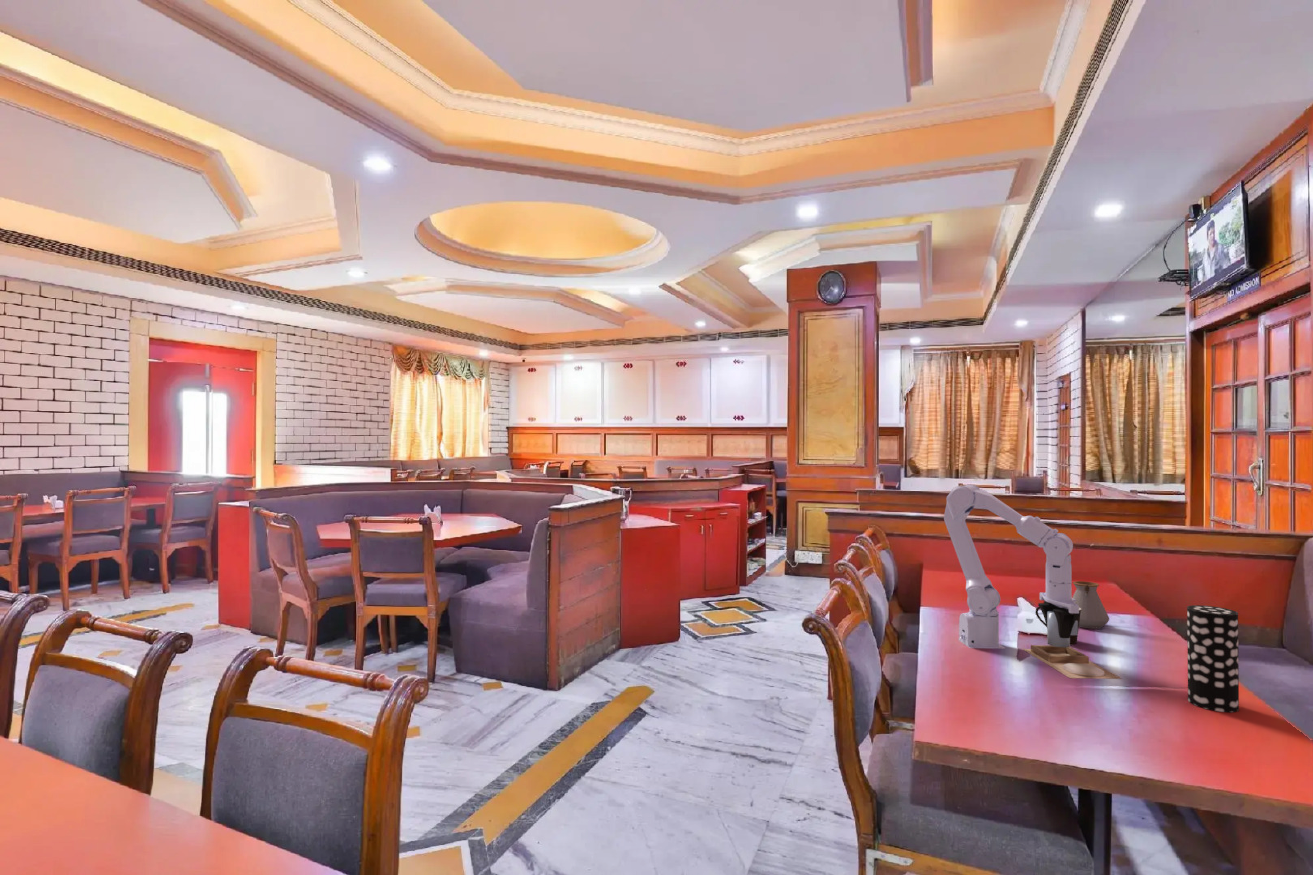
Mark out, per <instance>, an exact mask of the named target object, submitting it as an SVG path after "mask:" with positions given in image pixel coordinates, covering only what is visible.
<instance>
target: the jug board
mask: <svg viewBox="0 0 1313 875" xmlns="http://www.w3.org/2000/svg"><path fill="white" fill-rule="evenodd" d="M1022 651H1024V652H1026V653H1028V654H1029V655H1031V656H1033V657H1034V658H1036V659H1038V660H1039V661H1041V662H1042V663H1043V664H1046V665H1047V666H1049V667H1051V668H1052V669H1054V670H1056V671H1058V672H1059V673H1061V674H1063V676H1066V677H1068V678H1069V679H1092V680H1093V679H1097V680H1099V679H1104V680H1105V679H1109V680H1123V678H1122V677H1120V675H1119V676H1118V675H1117V674H1115V673H1113V672H1111V671H1109V670H1107V669H1105V668H1104V667H1101V666H1100V665H1098V664H1096V663H1095V662H1093V661H1090V656H1088V655H1086V654H1084V653H1083V652H1080V651H1079V650H1076V649H1074V648H1073V647H1071V646H1070V647H1066V648H1063V647H1055V646H1051V645H1049V644H1046V645H1045V644H1041V645H1040V644H1037V645H1036V644H1031V645H1030V648H1022Z"/></svg>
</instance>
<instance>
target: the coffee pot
mask: <svg viewBox="0 0 1313 875" xmlns="http://www.w3.org/2000/svg"><path fill="white" fill-rule="evenodd" d="M1072 584H1073V585H1074V587H1075V588H1076V590H1075V591H1074V593H1073V595H1072V598H1073V599H1075V600H1076V602H1074V603H1075V604H1076V605H1078V606H1079V608H1081V614H1080V622H1079V628H1083V629H1089V630H1090V629H1092V630H1094V629H1095V630H1097V629H1102V628H1103V627H1104V626H1107V624H1108V622H1109V621H1110V617H1109V615H1108V612H1107V611H1106V608H1105V607H1104V604H1103V602H1102V600H1101V597H1100V596H1099V594H1098V592H1097V589H1098V587H1100V584H1099V583H1098V582H1092V581H1085V580H1084V581H1082V580H1080V581H1079V580H1078V581H1077V580H1076V581H1073V582H1072Z"/></svg>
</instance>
